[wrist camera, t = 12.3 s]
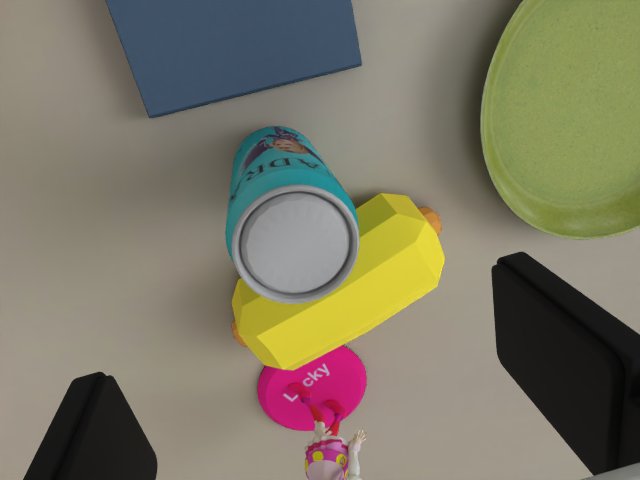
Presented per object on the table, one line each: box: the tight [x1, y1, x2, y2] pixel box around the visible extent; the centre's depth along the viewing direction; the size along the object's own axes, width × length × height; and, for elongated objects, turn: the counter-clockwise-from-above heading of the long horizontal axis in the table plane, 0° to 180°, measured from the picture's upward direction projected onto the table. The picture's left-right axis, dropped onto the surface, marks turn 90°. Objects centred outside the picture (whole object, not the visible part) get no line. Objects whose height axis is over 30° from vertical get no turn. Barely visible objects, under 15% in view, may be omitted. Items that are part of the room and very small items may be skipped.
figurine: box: [257, 345, 366, 480], centre depth 33 cm, size 10×10×15 cm
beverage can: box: [225, 127, 360, 304], centre depth 25 cm, size 6×6×15 cm
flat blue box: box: [106, 0, 362, 118], centre depth 27 cm, size 8×14×2 cm, turn 103°
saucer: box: [480, 0, 640, 240], centre depth 32 cm, size 21×21×3 cm
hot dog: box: [231, 193, 445, 370], centre depth 32 cm, size 18×7×8 cm
